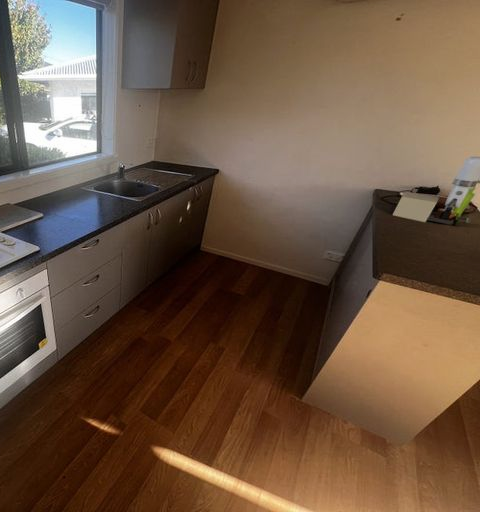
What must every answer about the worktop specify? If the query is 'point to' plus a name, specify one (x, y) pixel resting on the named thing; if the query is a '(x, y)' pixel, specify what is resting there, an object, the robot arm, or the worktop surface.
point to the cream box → (415, 206)
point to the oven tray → (453, 222)
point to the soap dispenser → (465, 201)
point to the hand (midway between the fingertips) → (443, 217)
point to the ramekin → (441, 212)
